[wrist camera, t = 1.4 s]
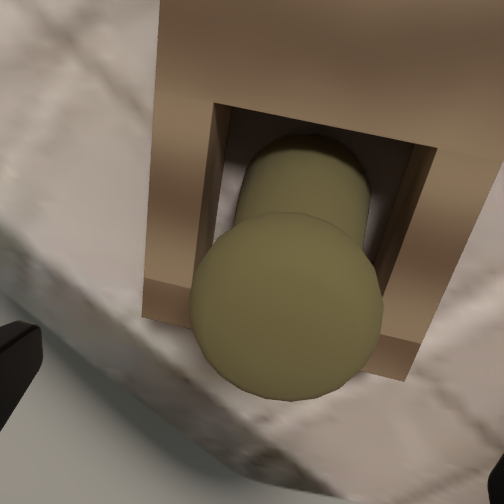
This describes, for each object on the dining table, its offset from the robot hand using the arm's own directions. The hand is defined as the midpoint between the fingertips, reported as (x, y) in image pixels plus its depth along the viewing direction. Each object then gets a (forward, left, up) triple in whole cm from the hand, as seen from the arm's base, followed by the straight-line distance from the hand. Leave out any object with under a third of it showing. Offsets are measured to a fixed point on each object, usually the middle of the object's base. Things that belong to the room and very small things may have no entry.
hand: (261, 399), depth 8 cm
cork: (0, 0, -13) cm, 13 cm away
